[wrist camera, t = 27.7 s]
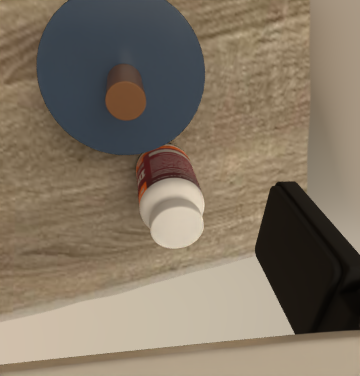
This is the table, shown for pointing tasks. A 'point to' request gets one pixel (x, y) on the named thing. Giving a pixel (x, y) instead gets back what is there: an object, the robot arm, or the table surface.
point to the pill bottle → (169, 197)
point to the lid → (120, 73)
